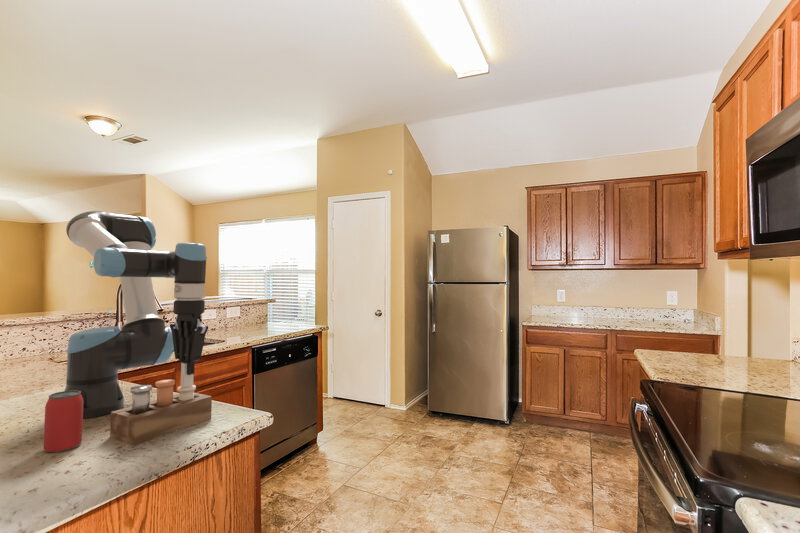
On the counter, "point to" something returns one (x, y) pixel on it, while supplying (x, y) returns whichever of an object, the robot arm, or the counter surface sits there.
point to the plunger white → (186, 392)
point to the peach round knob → (164, 392)
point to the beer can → (63, 421)
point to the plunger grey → (140, 399)
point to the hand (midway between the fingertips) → (186, 386)
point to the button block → (159, 419)
